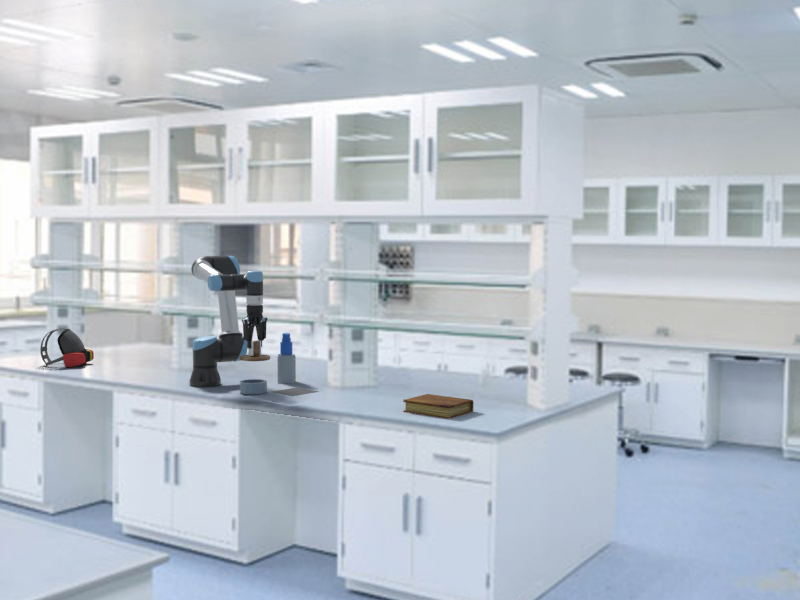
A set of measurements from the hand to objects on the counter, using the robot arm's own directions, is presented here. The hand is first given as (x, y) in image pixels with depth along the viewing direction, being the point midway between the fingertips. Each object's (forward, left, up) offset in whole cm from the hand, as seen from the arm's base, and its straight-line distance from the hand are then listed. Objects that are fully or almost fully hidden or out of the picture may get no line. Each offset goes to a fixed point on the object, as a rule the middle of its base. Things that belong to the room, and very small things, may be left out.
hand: (254, 354), depth 421 cm
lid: (0, 0, -2) cm, 2 cm away
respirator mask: (-146, -18, -19) cm, 149 cm away
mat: (+12, +14, -18) cm, 26 cm away
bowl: (0, -1, -18) cm, 18 cm away
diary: (+88, +28, -19) cm, 94 cm away
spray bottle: (-12, +29, -19) cm, 37 cm away
